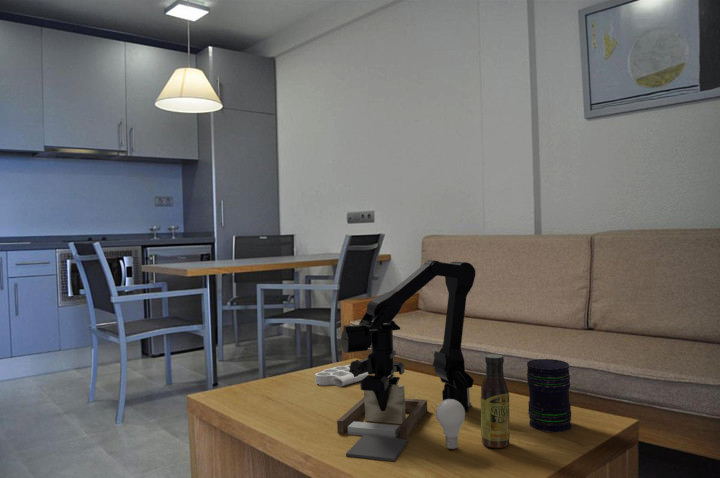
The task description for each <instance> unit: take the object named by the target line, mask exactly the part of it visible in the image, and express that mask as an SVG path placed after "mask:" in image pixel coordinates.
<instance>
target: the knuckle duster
mask: <svg viewBox="0 0 720 478" xmlns="http://www.w3.org/2000/svg"><path fill="white" fill-rule="evenodd" d="M349 366H350V364H347V365H340V366H334V367H332V368H326V369H323V370H322V371H320V372H316V373H315V375H314V376H315V378H314V379H315V384H316V385H317V384H319V385H318V386H330V385H332V386H333V385H334V386H337V387H339V386H340V387H344V386H347V385H351V384H354V383H359V382H361V381H362V380H363V379H364V378H365V377H366V376H367V375H370V374H368V372H366V373H363V374H360V375H358V376H357V377H354V375H353V374H352V373H350V372H349V370H350V367H349Z"/></svg>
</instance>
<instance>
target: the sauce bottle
mask: <svg viewBox="0 0 720 478" xmlns="http://www.w3.org/2000/svg"><path fill="white" fill-rule="evenodd" d="M504 360H505V359H504V355H501V354H497V353H495V354H494V353H492V354H491V353H490V354H489V353H488V354H485V356H484V361H485V365H486V367H485V368H486V369H485V371H486V372H485V378H484V379H483V381H482V382H481V383H482V384H481V387H480V391H481V392H480V394H481V396H480V427H481V428H480V436H481V443H482V445H483V446H486V447H487V448H492V449H503V448H505V447H508V446H509V444H510V438H511V431H510V430H511V429H510V428H511V425H510V424H511V423H510V422H511V421H510V419H511V418H510V416H511V415H510V392H509V389H508V385H507V382H506V380H505V377H504V373H505V372H504V364H505V363H504V362H505V361H504Z"/></svg>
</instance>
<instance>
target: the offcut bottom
mask: <svg viewBox="0 0 720 478" xmlns="http://www.w3.org/2000/svg"><path fill="white" fill-rule="evenodd" d="M347 435H353V436H355V435H357V436H363V435H366V436H377V437H388V438H397V437H398V436H400V431H399V432H398V433H397V434H396V436H388V435H378V434H367V433H357V432H348V431H347Z"/></svg>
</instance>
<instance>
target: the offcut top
mask: <svg viewBox="0 0 720 478" xmlns="http://www.w3.org/2000/svg"><path fill="white" fill-rule="evenodd" d="M400 425H401V424H399V425H398V424H389V423H387V424H385V423H378V422H367V421H365V422H363V421H356V422H355V421H353V422H352V423H351V424H350V425H349V426H348V429H347V433H348V432H357V433H367V434H378V435H388V436H396V434H397V433H398V432H399V431H400Z"/></svg>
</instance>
